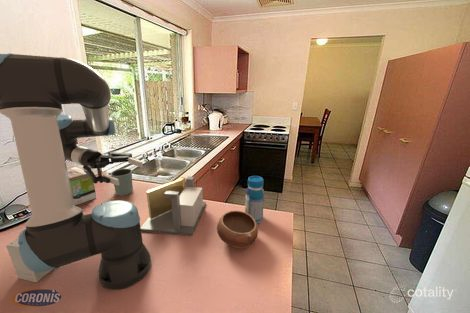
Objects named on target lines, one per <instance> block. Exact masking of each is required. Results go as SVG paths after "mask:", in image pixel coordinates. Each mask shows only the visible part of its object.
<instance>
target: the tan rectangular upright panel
mask: <svg viewBox="0 0 470 313" xmlns="http://www.w3.org/2000/svg"><path fill="white" fill-rule="evenodd" d="M186 178H187V177H181V178H179V179H175V180H172V181H169V182H168V183H164V184H162V185H160V186H157V187H154V188H151V189H148V190H147V191H145V192H146V199H147V200H146V201H147V208H148V214H149V216H148V218H149V217H150V219H153V218H155V217H157V216H159V215H162V214H164V213H166V212H168V211H170V210H172V201H171V198H165V197H164V193H165V192H166V191H176V192H179V196H180V194H181V193H182V192H183V190H184V189H185V187H186Z"/></svg>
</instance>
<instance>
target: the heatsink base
mask: <svg viewBox="0 0 470 313" xmlns="http://www.w3.org/2000/svg"><path fill="white" fill-rule="evenodd" d="M185 178H186V187H185V189H184V190H183V192H182V193H181V194H180V196H179V192H176V191H166V192H165V193H164V197H165V198H171V201H172V210H170V211H168V212H166V213H164V214H162V215H159V216H157V217H155V218H153V219H150V217H149V216H148V218H147V219H146V221H145V222H144V223H143V224H142V225H140V228H141V232H144V233H145V232H147V233H157V234H172V235H183V236H193V235H194V233H195V230H196V228H197V225H198V223H199V221H200V219H201V217H202V214H203V212H204V209H205V208H206V205H207V202H206V201H204V200H203V187H198V186H197V187H196V186H195V176H187V177H185Z"/></svg>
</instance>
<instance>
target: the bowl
mask: <svg viewBox="0 0 470 313" xmlns="http://www.w3.org/2000/svg"><path fill="white" fill-rule="evenodd" d="M216 232H217V235H218V237H219V239H220V240H221V241H223V242H224V243H225V244H226V245H228V246H229V247H233V248H235V249H244V248H248V247H250V246H252V244H254V243H255V242H256V241H257V239H258V234H259V228H258V223H256V221H255V219H254V218H253V217H252V216H251V215H249V214H248V213H245V211H241V210H231V211H226V212H225V213H223V214H222V216H221V217H220V218H219V220H218V222H217V225H216Z"/></svg>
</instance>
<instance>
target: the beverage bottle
mask: <svg viewBox="0 0 470 313" xmlns="http://www.w3.org/2000/svg"><path fill="white" fill-rule="evenodd" d="M264 183H265V182H264V178H263V177H262V176H259V175H251V176H248V179H247V186H248V187H246V190H245V197H244V200H245V202H244V204H245V206H244V212H245V213H248V214H249V215H251V216H252V217H253V218H254V219H255V221H256V223H257V224H259V223H261V222H263V221H262V220H263V218H264V217H263V216H264V215H263V214H264V203H265V190H264Z"/></svg>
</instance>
